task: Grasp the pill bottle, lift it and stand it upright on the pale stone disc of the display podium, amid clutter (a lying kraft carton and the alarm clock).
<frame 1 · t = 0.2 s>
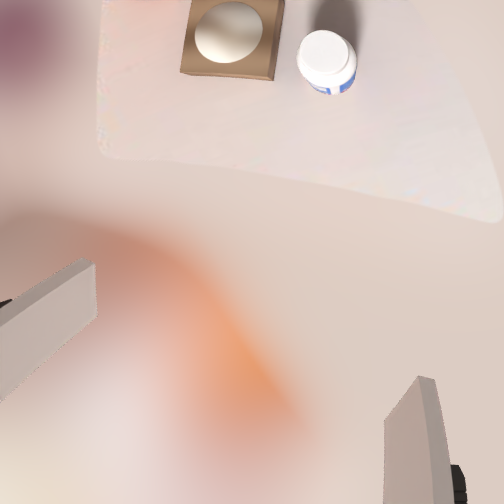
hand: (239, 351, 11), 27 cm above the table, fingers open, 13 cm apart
pill bottle: (329, 72, 30), on the table
podium: (236, 38, 31), on the table
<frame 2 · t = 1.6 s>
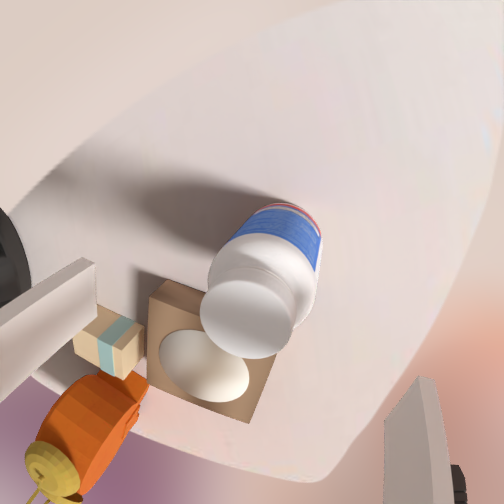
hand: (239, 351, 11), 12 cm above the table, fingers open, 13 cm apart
pill bottle: (283, 240, 22), on the table
alarm clock: (123, 389, 34), on the table
carton: (118, 329, 29), on the table
podium: (215, 346, 27), on the table
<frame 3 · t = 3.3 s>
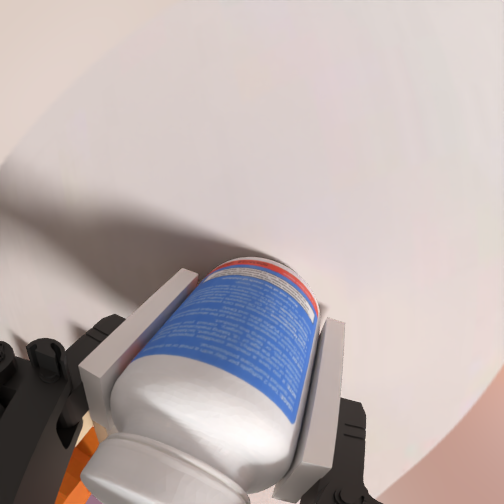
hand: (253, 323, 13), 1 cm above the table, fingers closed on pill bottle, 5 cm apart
pill bottle: (259, 310, 14), on the table, touching gripper
alarm clock: (88, 440, 26), on the table
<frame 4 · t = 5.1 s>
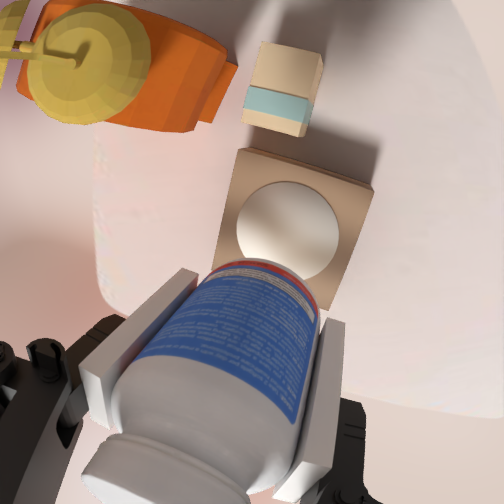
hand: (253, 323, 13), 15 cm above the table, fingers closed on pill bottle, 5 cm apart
pill bottle: (260, 310, 14), point 14 cm above the table, touching gripper
alarm clock: (177, 73, 24), on the table
carton: (289, 94, 23), on the table
podium: (292, 222, 26), on the table
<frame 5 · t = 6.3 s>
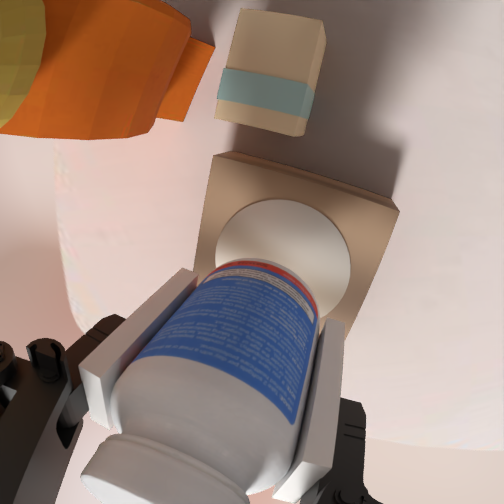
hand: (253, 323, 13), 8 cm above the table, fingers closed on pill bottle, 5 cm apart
pill bottle: (259, 310, 14), point 7 cm above the table, touching gripper
alarm clock: (142, 62, 18), on the table
carton: (282, 79, 17), on the table
podium: (289, 248, 20), on the table
when the fingers open (5 cm above the table, at t = 7.2 s): pill bottle drops 1 cm, resting on podium.
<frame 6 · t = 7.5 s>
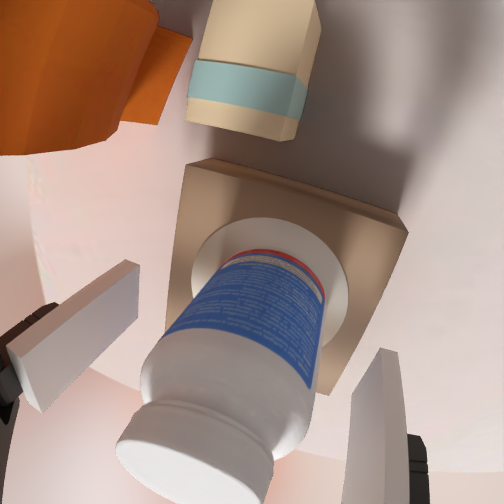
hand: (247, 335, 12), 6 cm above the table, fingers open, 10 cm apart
pill bottle: (270, 296, 15), point 3 cm above the table, touching podium
alarm clock: (114, 59, 16), on the table
carton: (269, 73, 14), on the table
podium: (278, 270, 18), on the table
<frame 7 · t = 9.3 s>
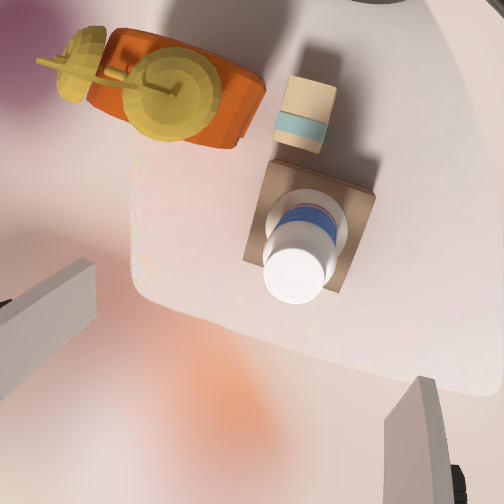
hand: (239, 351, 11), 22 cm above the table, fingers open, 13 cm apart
pill bottle: (308, 230, 29), point 3 cm above the table, touching podium
alarm clock: (212, 93, 30), on the table
carton: (308, 116, 28), on the table
podium: (309, 221, 32), on the table
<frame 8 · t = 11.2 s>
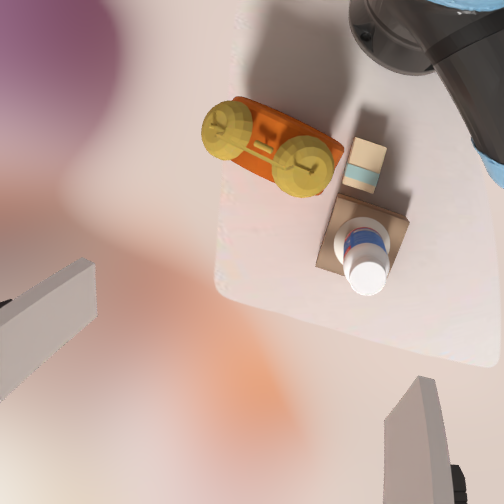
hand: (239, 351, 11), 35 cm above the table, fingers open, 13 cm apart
pill bottle: (363, 245, 41), point 3 cm above the table, touching podium
alarm clock: (290, 140, 41), on the table
carton: (362, 162, 40), on the table
podium: (361, 237, 43), on the table
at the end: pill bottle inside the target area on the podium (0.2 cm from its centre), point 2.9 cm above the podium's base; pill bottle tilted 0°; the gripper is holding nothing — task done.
